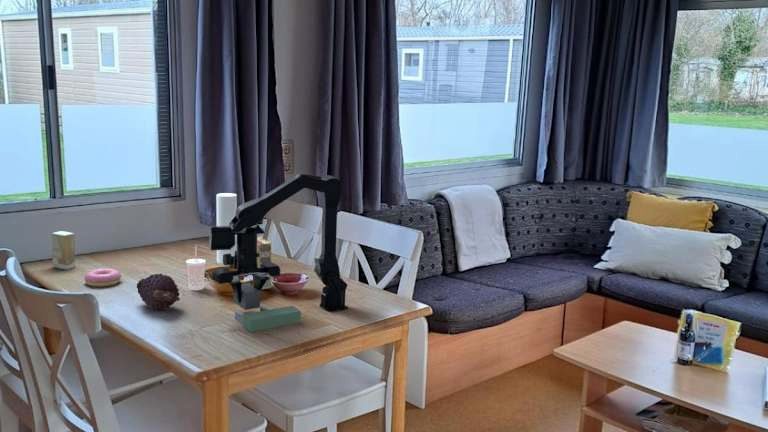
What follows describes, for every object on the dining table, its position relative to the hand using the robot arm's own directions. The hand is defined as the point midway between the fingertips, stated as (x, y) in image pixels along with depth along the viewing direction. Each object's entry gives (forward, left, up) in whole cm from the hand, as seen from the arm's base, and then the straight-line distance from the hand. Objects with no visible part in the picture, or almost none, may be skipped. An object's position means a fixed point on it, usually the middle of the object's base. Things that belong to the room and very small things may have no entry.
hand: (246, 301), depth 194 cm
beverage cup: (+4, -30, -4) cm, 31 cm away
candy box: (-15, -23, -4) cm, 28 cm away
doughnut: (+28, -49, -4) cm, 56 cm away
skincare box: (+35, -73, -4) cm, 81 cm away
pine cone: (+20, -17, -4) cm, 27 cm away
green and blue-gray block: (-2, +8, -4) cm, 9 cm away
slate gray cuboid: (0, 0, -1) cm, 1 cm away
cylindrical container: (-17, -56, -4) cm, 59 cm away
